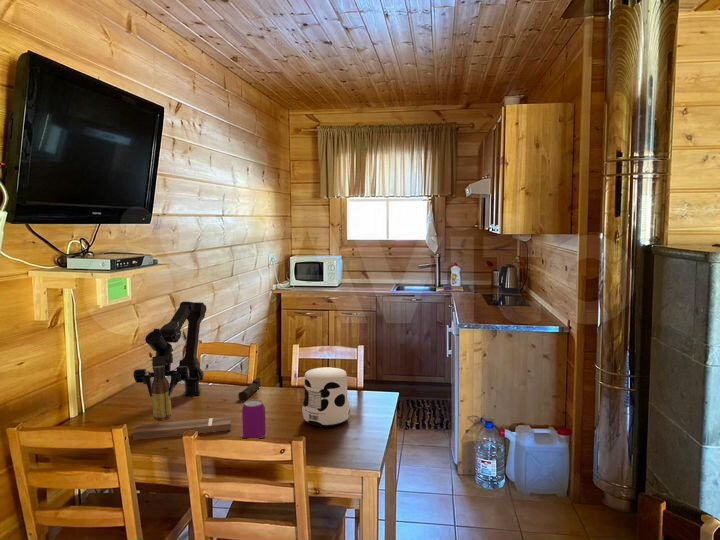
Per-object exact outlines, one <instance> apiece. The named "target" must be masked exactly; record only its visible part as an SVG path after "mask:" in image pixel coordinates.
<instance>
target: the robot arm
mask: <svg viewBox="0 0 720 540" xmlns="http://www.w3.org/2000/svg"><path fill="white" fill-rule="evenodd" d="M206 314H207V305H205V303H204V302H203V301H202V302H194V301H189V300H188V301H186V300H185V301H181V302H180V303H179V307H178V309H177V310H176V311H175V313H174V315H173V316H172V318H171V320H170V321H169V322H167V323H165V324H163V325H162V327H161V328H153V330H152V331H150V332H149V333H148V334H147V335H145V339H144V340H145V342H146V344H147V345H148V346H149V348H150V349H151V350H152V351H153V352H155V355H154V356H152V359H151V366H152V367H153V366H154V365H165V377H170V383H169V395H170V396H171V395H172V393H173V391H174V389H175V388H176V386H177V385H178V384H179V382H182V381H184V392H183V397H189V396H190V397H191V396H192V395H194V396H200V395H201V392H200V391H201V389H200V381H203V380H204V375H205V372H204V371H203V370H202V368H201V363H200V361H199V359H198V349H199V337H200V326H201V323H202V322H203V320H204V319H205V317H206ZM185 322H187V330H186V331H187V332H186V333H187V334H186V343H185V351H184V356H183V358H182V359H180V360H179V364H178V366H176V369H175V370H172V368H171V366H172V364H173V363H174V355H173V352H174V348H173V345H172V343H174V344H176V343H178V342H179V340H180V339H181V336H182V331H181V330H182V327H183V326H184V324H185ZM132 377H133V379H134V381H135V383H136V384H139V383H142V384H143V385H146V387H147V389H148V393H149V397H150V398H152V392H151V389H152V383H153V380H152V378H154V371H147V369H146V368H137V369H134V371H133V374H132ZM192 397H193V396H192Z"/></svg>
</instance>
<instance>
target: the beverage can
mask: <svg viewBox="0 0 720 540" xmlns="http://www.w3.org/2000/svg"><path fill="white" fill-rule="evenodd" d="M241 414H242V415H241V417H242V418H241V419H242V437H243V438H244V439H246V438H262V439H263V438H264V437H265V436H266V432H267V429H266V427H267V426H266V425H267V424H266V406H265V404H264V402H263V401H262V399H255V398H254V399H249V400H248V399H247V400H245V401H244V404H243V406H242V408H241Z"/></svg>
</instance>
